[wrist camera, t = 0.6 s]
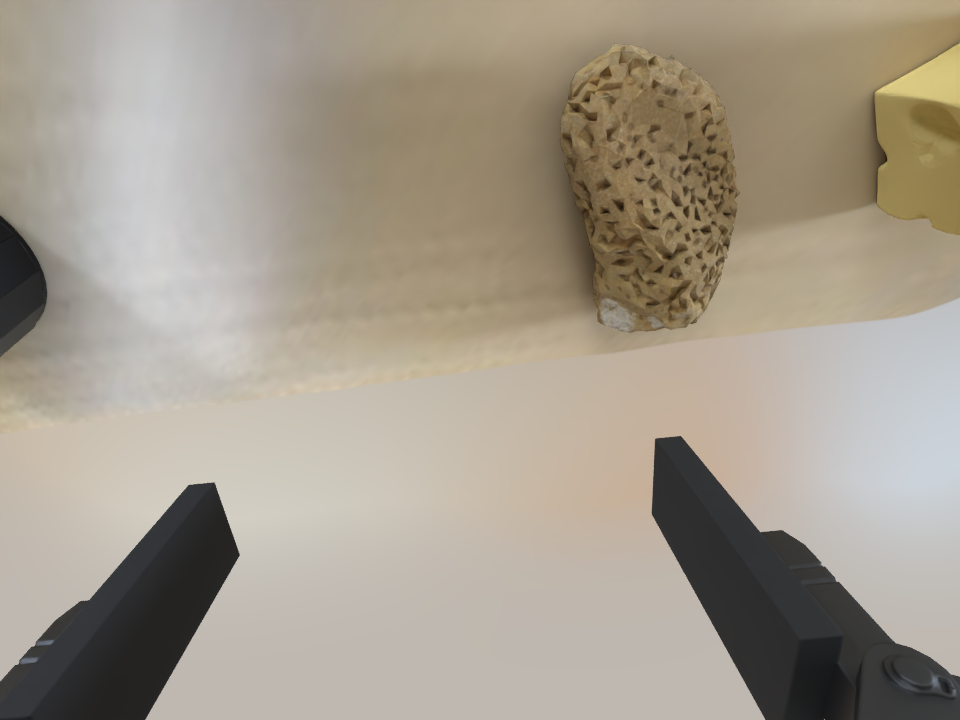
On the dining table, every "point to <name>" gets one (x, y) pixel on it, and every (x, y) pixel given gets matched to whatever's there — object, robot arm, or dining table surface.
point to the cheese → (922, 143)
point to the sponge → (650, 186)
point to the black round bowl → (18, 287)
